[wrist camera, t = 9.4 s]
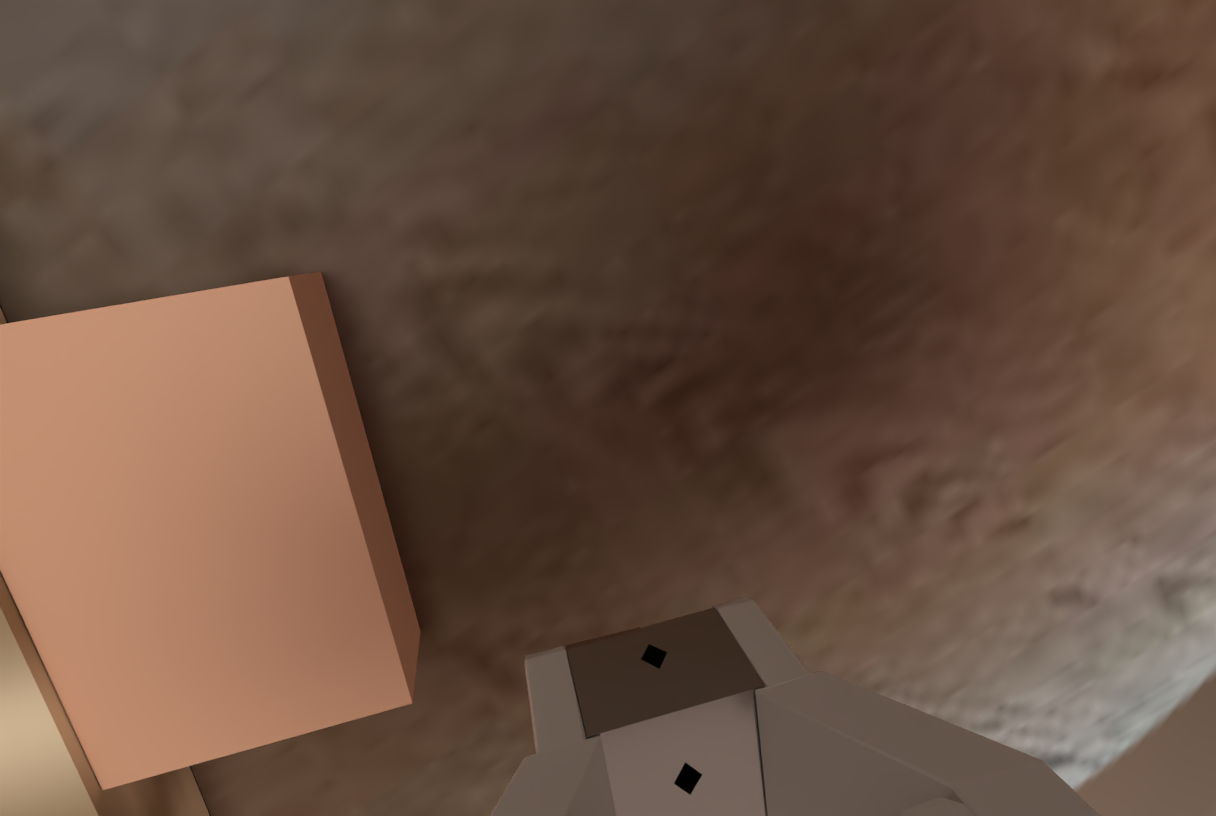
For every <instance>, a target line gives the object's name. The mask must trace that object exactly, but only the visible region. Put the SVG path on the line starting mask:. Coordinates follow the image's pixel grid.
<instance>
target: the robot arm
mask: <svg viewBox="0 0 1216 816" xmlns="http://www.w3.org/2000/svg"><path fill="white" fill-rule="evenodd" d="M565 647H566V650H565V648H564V647H563V646H561V647H557V648H553V649H549V650H546V651H542V652H538V653H534V654H530V655H526V656H525V671H526V679H527V687H528V694H529V702H530V710H531V718H532V726H533V733H534V741H535V749H536V754H534V755H531V756H528V757H525V758H523V760H522V762H521V763H520V765H519V767H518V768H517V770H516V772H515V774H514V775H513V777H512V779H511V781H510V782H509V784H508V786H507V787H506V789H505V791H504V793H503V794H502V796H501V798H500V800H499V801H498V803H497V805H496V806H495V808H494V810H493V812H492V813H491V815H490V816H1100V814H1099V813H1098V812H1096V811H1095V810H1094V809H1093V808H1092V807H1091V806H1090V805H1089V804H1088V803H1087V802H1086V801H1085V800H1084V799H1082V798H1081V797H1080V796H1079V795H1078V794H1077V793H1076V792H1075V791H1074V790H1073V789H1072V788H1071V787H1070V786H1069V785H1068V784H1066V783H1065V782H1064V781H1063V780H1062V779H1061V778H1060V777H1059V776H1058V775H1057V774H1056V773H1055V772H1054V771H1052V770H1051V769H1050V768H1049V767H1048V766H1047V765H1046V764H1045V763H1044V762H1043V761H1042V760H1040V759H1037V758H1035V757H1032V756H1030V755H1027V754H1025V753H1023V752H1020V751H1018V750H1015V749H1013V748H1010V747H1008V746H1005V745H1003V744H1000V743H998V742H996V741H993V740H991V739H988V738H986V737H983V736H981V735H978V734H976V733H973V732H971V731H969V730H966V729H964V728H961V727H959V726H956V725H954V724H951V723H949V722H946V721H944V720H942V719H939V718H937V717H934V716H932V715H929V714H927V713H924V712H922V711H919V710H917V709H915V708H912V707H910V706H907V705H905V704H902V703H900V702H897V701H895V700H892V699H890V698H888V697H885V696H883V695H880V694H878V693H875V692H873V691H870V690H868V689H865V688H863V687H861V686H858V685H856V684H853V683H851V682H848V681H846V680H843V679H841V678H838V677H836V676H834V675H831V674H829V673H826V672H824V671H821V672H817V673H814V674H811V673H810V672H809V670H808V669H807V668H806V667H805V665H804V664H803V663H802V661H801V660H800V659H799V658H798V656H797V655H796V654H795V652H794V651H793V650H792V649H791V647H790V646H789V645H788V643H787V642H786V641H785V640H784V638H783V637H782V636H781V634H780V633H779V632H778V631H777V629H776V628H775V627H774V625H773V624H772V623H771V622H770V620H769V619H768V618H767V616H766V615H765V614H764V613H763V611H762V610H761V609H760V607H759V606H758V605H757V604H756V602H755V601H754V600H753V599H751V598H749V597H743V598H740V599H737V600H733V601H730V602H727V603H723V604H720V605H716V606H713V607H712V608H711V609H707V610H704V611H700V612H696V613H693V614H689V615H685V616H682V617H678V618H674V619H671V620H667V621H663V622H660V623H656V624H653V625H649V626H645V627H642V628H640V627H639V628H634V629H630V630H626V631H622V632H618V633H614V634H610V635H606V636H601V637H597V638H593V639H589V640H585V641H581V642H577V643H573V644H568V645H565ZM566 652H567V654H566ZM567 657H568V658H567Z"/></svg>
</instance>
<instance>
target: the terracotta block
mask: <svg viewBox="0 0 1216 816" xmlns="http://www.w3.org/2000/svg"><path fill="white" fill-rule="evenodd" d="M0 571H1V573H2V575H3V577H4V579H5V581H6V584H7V586H8V588H9V590H10V592H11V594H12V597H13V599H14V601H15V603H16V605H17V607H18V609H19V612H20V614H21V616H22V618H23V620H24V622H25V624H26V627H27V629H28V631H29V633H30V635H31V637H32V640H33V642H34V644H35V646H36V648H37V650H38V652H39V655H40V657H41V659H42V661H43V663H44V665H45V667H46V670H47V672H48V674H49V676H50V678H51V680H52V683H53V685H54V687H55V689H56V691H57V693H58V695H59V698H60V700H61V702H62V704H63V706H64V708H65V710H66V713H67V715H68V717H69V719H70V721H71V723H72V726H73V728H74V730H75V732H76V734H77V736H78V738H79V741H80V743H81V745H82V747H83V749H84V751H85V754H86V756H87V758H88V760H89V762H90V764H91V766H92V769H93V771H94V773H95V775H96V777H97V779H98V781H99V784H100V786H101V788H102V790H106V789H109V788H113V787H116V786H120V785H124V784H127V783H131V782H134V781H138V780H141V779H145V778H149V777H152V776H156V775H159V774H163V773H166V772H170V771H173V770H177V769H181V768H184V767H188V766H191V765H195V764H198V763H202V762H205V761H209V760H213V759H216V758H220V757H223V756H227V755H230V754H234V753H237V752H241V751H245V750H248V749H252V748H255V747H259V746H262V745H266V744H269V743H273V742H277V741H280V740H284V739H287V738H291V737H294V736H298V735H301V734H305V733H309V732H312V731H316V730H319V729H323V728H326V727H330V726H333V725H337V724H341V723H344V722H348V721H351V720H355V719H358V718H362V717H365V716H369V715H373V714H376V713H380V712H383V711H387V710H390V709H394V708H397V707H401V706H405V705H408V704H412V703H413V694H414V685H415V676H416V667H417V658H418V650H419V641H420V632H421V631H420V628H419V624H418V621H417V617H416V613H415V610H414V606H413V602H412V599H411V595H410V592H409V588H408V584H407V581H406V577H405V573H404V570H403V566H402V563H401V559H400V555H399V552H398V548H397V545H396V541H395V537H394V534H393V530H392V526H391V523H390V519H389V516H388V512H387V508H386V505H385V501H384V498H383V494H382V490H381V487H380V483H379V479H378V476H377V472H376V469H375V465H374V461H373V458H372V454H371V451H370V447H369V443H368V440H367V436H366V432H365V429H364V425H363V422H362V418H361V414H360V411H359V407H358V404H357V400H356V396H355V393H354V389H353V385H352V382H351V378H350V375H349V371H348V367H347V364H346V360H345V357H344V353H343V349H342V346H341V342H340V338H339V335H338V331H337V328H336V324H335V320H334V317H333V313H332V310H331V306H330V302H329V299H328V295H327V291H326V288H325V284H324V281H323V277H322V273H321V272H316V273H309V274H302V275H294V276H287V277H281V278H276V279H270V280H264V281H258V282H252V283H246V284H240V285H234V286H228V287H222V288H216V289H210V290H204V291H198V292H192V293H186V294H180V295H174V296H168V297H162V298H156V299H150V300H144V301H138V302H132V303H126V304H120V305H114V306H108V307H102V308H96V309H90V310H84V311H78V312H72V313H66V314H61V315H55V316H49V317H43V318H37V319H31V320H25V321H19V322H13V323H7V324H1V325H0Z"/></svg>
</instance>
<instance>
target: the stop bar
mask: <svg viewBox="0 0 1216 816" xmlns="http://www.w3.org/2000/svg"><path fill="white" fill-rule="evenodd" d="M1 324H7V322H6V320H5V317H4V315H3V312H2V310H1V308H0V325H1ZM0 816H210V815H209V813H208V810H207V808H206V805H205V803H204V800H203V798H202V796H201V793H200V791H199V788H198V786H197V783H196V781H195V779H194V776H193V774H192V771H191V769H190V766H188V767H184V768H181V769H177V770H173V771H170V772H166V773H163V774H159V775H156V776H152V777H149V778H145V779H141V780H138V781H134V782H131V783H127V784H124V785H120V786H116V787H113V788H109V789H106V790H102V788H101V786H100V784H99V781H98V779H97V777H96V775H95V773H94V771H93V769H92V766H91V764H90V762H89V760H88V758H87V756H86V754H85V751H84V749H83V747H82V745H81V743H80V741H79V738H78V736H77V734H76V732H75V730H74V728H73V726H72V723H71V721H70V719H69V717H68V715H67V713H66V710H65V708H64V706H63V704H62V702H61V700H60V698H59V695H58V693H57V691H56V689H55V687H54V685H53V683H52V680H51V678H50V676H49V674H48V672H47V670H46V667H45V665H44V663H43V661H42V659H41V657H40V655H39V652H38V650H37V648H36V646H35V644H34V642H33V640H32V637H31V635H30V633H29V631H28V629H27V627H26V624H25V622H24V620H23V618H22V616H21V614H20V612H19V609H18V607H17V605H16V603H15V601H14V599H13V597H12V594H11V592H10V590H9V588H8V586H7V584H6V581H5V579H4V577H3V575H2V573H1V571H0Z"/></svg>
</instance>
